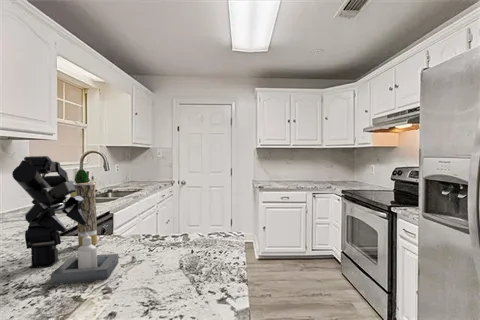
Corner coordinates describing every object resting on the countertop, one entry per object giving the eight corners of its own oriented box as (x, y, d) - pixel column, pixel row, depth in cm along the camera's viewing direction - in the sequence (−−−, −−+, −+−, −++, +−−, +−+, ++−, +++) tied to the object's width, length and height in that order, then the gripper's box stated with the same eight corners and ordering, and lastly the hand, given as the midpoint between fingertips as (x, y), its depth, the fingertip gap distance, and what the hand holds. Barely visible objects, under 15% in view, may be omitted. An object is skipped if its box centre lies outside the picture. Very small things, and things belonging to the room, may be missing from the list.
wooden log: (89, 247, 119) (87, 183, 119) (74, 246, 120) (72, 184, 120) (100, 242, 126) (98, 182, 126) (86, 242, 127) (84, 182, 127)
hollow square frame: (51, 285, 83) (50, 274, 83) (70, 266, 97) (70, 257, 97) (107, 279, 85) (107, 268, 85) (118, 262, 99) (118, 253, 99)
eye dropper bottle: (82, 277, 87) (81, 235, 87) (77, 272, 92) (76, 232, 92) (98, 273, 90) (97, 233, 90) (92, 268, 95) (91, 230, 95)
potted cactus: (64, 212, 210) (63, 169, 210) (81, 208, 225) (79, 168, 225) (83, 212, 207) (82, 168, 207) (99, 208, 222) (97, 168, 222)
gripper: (33, 174, 83) (71, 214, 82) (77, 171, 101) (109, 204, 100) (8, 203, 84) (45, 243, 83) (56, 195, 102) (88, 228, 101)
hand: (75, 227), depth 92 cm, fingers open, 9 cm apart
